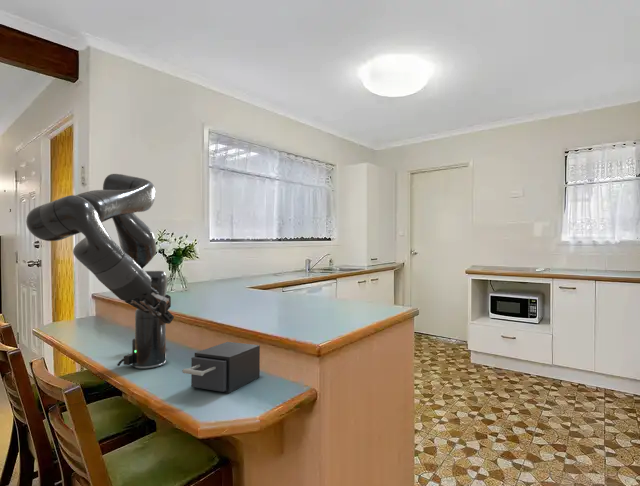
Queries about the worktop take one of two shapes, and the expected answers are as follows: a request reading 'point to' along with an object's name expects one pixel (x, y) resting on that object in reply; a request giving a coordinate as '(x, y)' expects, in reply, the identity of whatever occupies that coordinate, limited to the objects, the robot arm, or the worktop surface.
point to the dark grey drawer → (208, 373)
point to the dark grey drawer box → (236, 362)
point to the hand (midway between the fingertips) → (169, 320)
